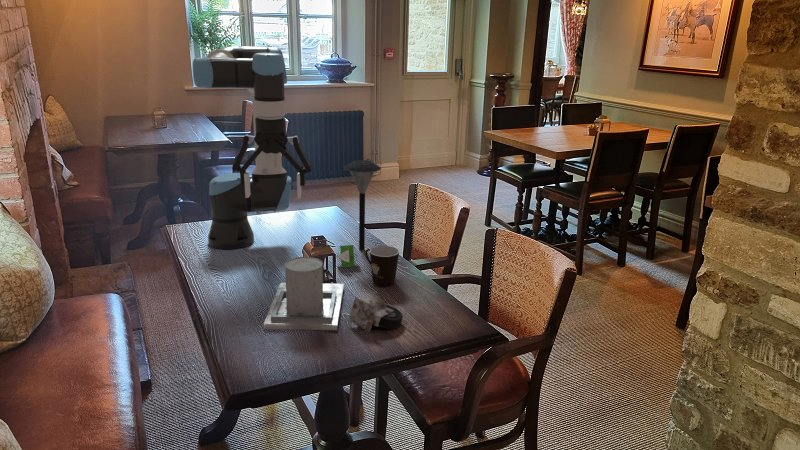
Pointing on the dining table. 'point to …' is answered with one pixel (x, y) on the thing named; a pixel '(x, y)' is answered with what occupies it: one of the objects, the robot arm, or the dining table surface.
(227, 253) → the dining table surface
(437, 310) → the dining table surface
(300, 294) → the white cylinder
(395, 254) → the coffee mug
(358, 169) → the solar garden light
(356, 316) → the caster wheel
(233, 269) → the dining table surface
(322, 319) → the carrier plate
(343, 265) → the geometric puzzle
